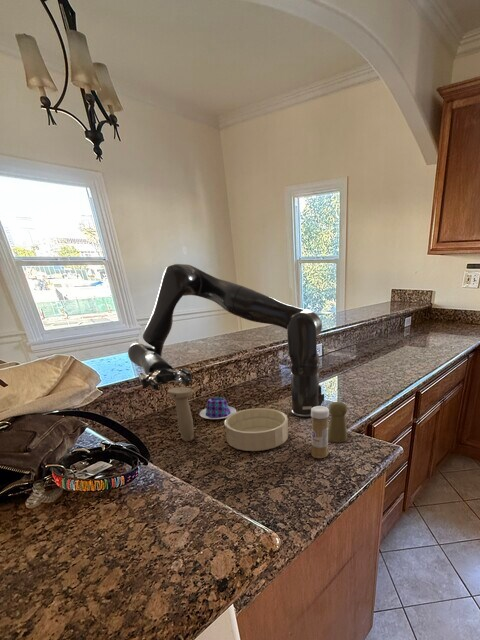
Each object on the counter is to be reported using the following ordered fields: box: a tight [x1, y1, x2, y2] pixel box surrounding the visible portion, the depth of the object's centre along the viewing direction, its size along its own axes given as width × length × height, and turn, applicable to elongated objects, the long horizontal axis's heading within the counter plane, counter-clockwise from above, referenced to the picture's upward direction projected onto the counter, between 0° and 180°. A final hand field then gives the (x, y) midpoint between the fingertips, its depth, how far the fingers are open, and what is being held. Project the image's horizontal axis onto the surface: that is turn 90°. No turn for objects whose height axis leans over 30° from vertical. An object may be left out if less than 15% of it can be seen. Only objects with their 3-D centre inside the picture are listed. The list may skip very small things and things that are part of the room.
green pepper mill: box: [328, 401, 348, 444], centre depth 102 cm, size 6×6×11 cm
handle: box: [167, 386, 195, 442], centre depth 99 cm, size 5×6×15 cm
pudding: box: [199, 396, 237, 420], centre depth 118 cm, size 12×12×5 cm
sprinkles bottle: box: [310, 405, 330, 459], centre depth 92 cm, size 5×5×13 cm
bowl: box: [224, 407, 289, 452], centre depth 102 cm, size 18×18×6 cm
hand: (172, 385), depth 103 cm, fingers open, 8 cm apart
